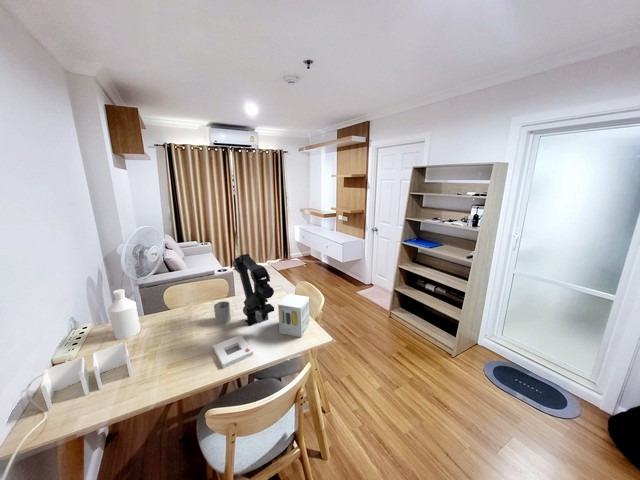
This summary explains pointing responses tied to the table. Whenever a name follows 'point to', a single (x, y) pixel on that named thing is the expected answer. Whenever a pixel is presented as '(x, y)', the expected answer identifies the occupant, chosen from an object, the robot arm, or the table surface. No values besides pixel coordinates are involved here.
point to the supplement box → (293, 315)
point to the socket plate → (232, 351)
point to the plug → (260, 317)
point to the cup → (222, 312)
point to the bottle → (124, 316)
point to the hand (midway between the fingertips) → (261, 317)
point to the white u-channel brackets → (83, 371)
